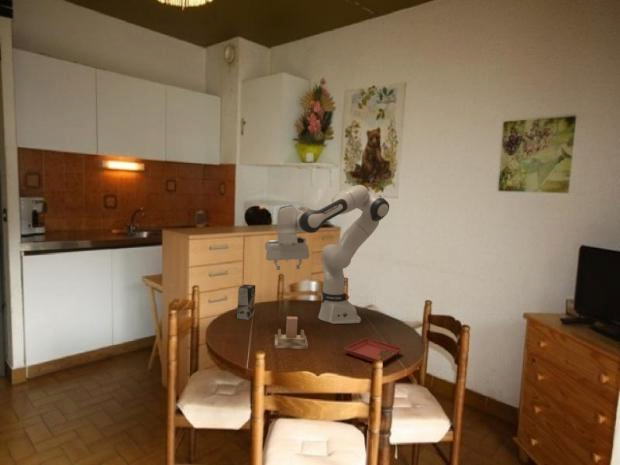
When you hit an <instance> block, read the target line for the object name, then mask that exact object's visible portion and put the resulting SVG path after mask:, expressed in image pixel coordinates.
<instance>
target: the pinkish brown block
mask: <svg viewBox="0 0 620 465" xmlns="http://www.w3.org/2000/svg"><path fill="white" fill-rule="evenodd" d="M285 326H286V327H285V335H286V338H297V335H298V334H297V333H298V316H290V315H289V316H286V325H285Z"/></svg>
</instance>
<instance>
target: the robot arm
mask: <svg viewBox="0 0 620 465" xmlns="http://www.w3.org/2000/svg"><path fill="white" fill-rule="evenodd" d="M356 209H358V210H360V211H362V213H361V215H360V216H359V217H358V218H357V219H356V220H355V221H354V222H353V223H352V224H351V225H350V226H349V227H348V228H347V229H346V230H345V231H344V232H343V234H342V236H341V238H340V240H339V241H338V242H337V243H336V244H334V243H331V244H329V243H328V244H326V245H325V246H324V247H323V248H322V250H321V258H322V270H323V271H322V272H323V281H322V282H323V285H322V291H321V295H320V296H321V298H320V300H321V305H320V310H319V312H318V315H317V319H318V320H321V321H323V322H327V323H330V324H334V325H335V324H339V325H340V324H360V323H361V322H362V318H361V317H360V316H359V315H358V313H357V308H356V307H355V306H354V305H353V303H351V302H350V301H349V299H350V296H349V295H348V293H345V278H346V277H345V274H344V269H347V267H349V266H350V265H351V261H352V259H353V257H354V256H355V254H356V252H357V251H358V249H359V248H360V247H361V246H362V245H363V244H364V243H365V242H366V240H368V239H369V238H370V237H371V236H372V234H374V232H375V231H376V229H377V227H378V226H379V225H380V221H381V220H383V219H384V218H385V217H386V216H387V214H388V213H389V210H390V204H389V202H388V201H387V200H386V199H385V198H383V197H381V196H380V195H378V194H376V193H373V192H371V191H369V190H368V189H367V188H366V187H365V186H364V185H363V184H355V185H353V186H350V187H347V188H345V189H344V190H341V191H339V192H338V193H336V194H335V195H333V197H332V199H331V203H329V204H327V205H326V206H324V207H322V208H320V209H317V210H316V209H315V210H314V209H313V210H308V211H307V210H306V211H303V210H302V209H301V210H300V209H299V208H297V207H295V205H293V204H291V205H285V206H281V207H280V208H279V209H278V210H277V218H276V220H277V221H276V222H277V223H276V225H277V229H278V230H277V240H268V241H266V242H265V244H264V246H265V247H264V248H265V250H266V253H265V254H266V255H265V259H266V260H267V261H273V264H274V265H275V268H276V271H281V269H280V268H281V266H280V265H278V264H277V263H278V261H283V260H284V261H287V260H288V261H290V260H298V264H296V266H295V267H296V270H300V269H301V264H302V262H303V260H308V259H309V258H310V250H309V246H308V244H307V239H306V238H303V237H301V236H298V235H297V232H300V233H310V234H311V233H312V234H314V233H316V232H318V231H319V230H320V229H321V228H322V226H323V225H324V224H325V223H326V222H328V221H330V220H331V219H334V218H335V217H337V216H339V215H345V214H349V213H350V212H352V211H354V210H356Z"/></svg>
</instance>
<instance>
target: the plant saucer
mask: <svg viewBox="0 0 620 465" xmlns="http://www.w3.org/2000/svg"><path fill="white" fill-rule="evenodd" d="M382 349H383V350H384V351H385V350H387V351H391V352H395V353H394V354H392V355H390V356H388V357H387V358H385V359H383V360H382V361H383V362H384V363H386V362H388V361H389V360H391V359H392V357H393V358H395V357H396V356H398V354H400V353H401V351H402V350H403V348H402V347H398V346H395V345H391V344H389V343H385V342H382V341H378V340H376V339H371V338H368V337H365V338H363V339H360V340H358V341H356V342H354V343H351V344H349V345H347V346H345V347H344V350H345V351H346V353H347V354H348V355H349V354H350V356H352V355H353V356H352V357H355V358H358V357H359V359H361V358H362V359H361V360H363V359H365V360H364V361H366V360H367V361H366V362H369V361H371V362H370V363H372V362H373V361H375V360H379V359H381V356H380V355H378V354H380V351H381V350H382ZM383 350H382V351H383ZM395 355H396V356H395ZM394 356H395V357H394ZM390 358H391V359H390ZM388 359H389V360H388ZM387 360H388V361H387ZM385 361H386V362H385Z"/></svg>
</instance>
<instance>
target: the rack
mask: <svg viewBox="0 0 620 465" xmlns="http://www.w3.org/2000/svg"><path fill="white" fill-rule="evenodd" d="M308 345H309V344H308V340H307V335H306V334H305V330H304V329H300V334H297V338H286V334H282V329H281V328H277V334H274V349H297V350H305V349H306V350H309V346H308Z"/></svg>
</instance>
